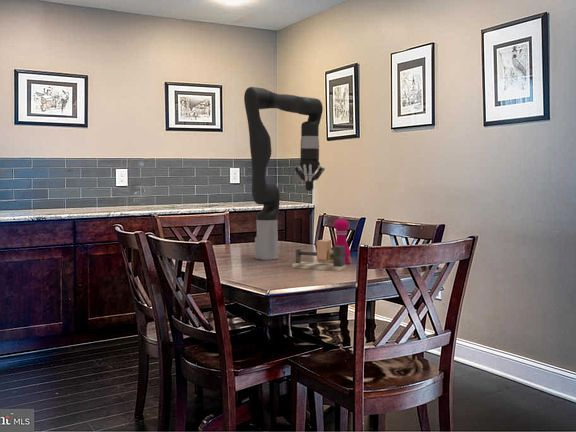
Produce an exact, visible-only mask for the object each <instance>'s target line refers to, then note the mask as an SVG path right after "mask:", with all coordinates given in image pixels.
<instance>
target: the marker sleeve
mask: <svg viewBox="0 0 576 432" xmlns="http://www.w3.org/2000/svg"><path fill="white" fill-rule="evenodd" d="M329 250H332V239H319V240H316V252H317V256H316V261H317V262H329V261H331V260H330V259H328V251H329Z"/></svg>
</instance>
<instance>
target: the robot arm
mask: <svg viewBox="0 0 576 432" xmlns="http://www.w3.org/2000/svg"><path fill="white" fill-rule="evenodd" d="M243 99H244V100H243V102H244V103H243V104H244V108H245V112H246V118H247V119H246V120H247V124H248V125H247V127H248V135H249V137H248V138H249V150H250V158H251V161H250V162H251V182H252V183H251V197H252V199H253V201H254V203H255V204H257V205H260V206H261V205H262V206H263V207H262V209H261V210H260V211H259V212H258V213H257V214H256V216H255V217H256V236H255V237H254V252H255V253H254V255H255V256H254V258H255V259H256V260H266V261H270V260H276V259H279V251H278V249H279V247H278V246H279V245H278V243H279V242H278V241H279V240H278V238H279V237H278V236H279V234H278V232H279V230H278V229H279V228H278V215H279V213H280V199H281V198H280V190H279V188H278V187H279V186H277V184H275V183H272V182H271V183H268V182H266V171H267V167H268V165H269V163H270V159H271V157H272V141H271V136H270V133H269V132H268V130H267V128H266V126H265V125H264V123H263V122H262V119H261V114H260V110H265V109H266V110H267V109H277V110H280V111H283V112H289V113H293V114H298V115H303V116H308V117H307V119H306V120H307V121H303V122H302V123H301V127H300V129H301V130H300V135H301V136H300V153H299V154H300V157H299V159H300V162H299V165H298V166H296V167H294V171H295V172H296V174H297V175H298V177H299V178H300V179H301V180H302V181H304V182H305V190H306V191H307V192H309V191H310V192H312V191H313V190H314V181H317V180H319V178H320V177H321V176H322V174H323V172H324V171H326V170H325V169H326V168H325V167H323V166H321V165H320V164H321V163H320V160H319V159H320V138H319V129H320V128H319V126H320V122H321V119H322V116H323V110H324V108H323V103H322V101H321V100H320V99H318V98H315V97H309V96H298V95H295V94H294V95H293V94H285V93H284V94H280V93H276V92H273V91H271V90H268V89H267V88H264V87H263V88H262V87H255V86H249V87H247V88H246V89H245V91H244V95H243Z"/></svg>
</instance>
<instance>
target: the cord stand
mask: <svg viewBox="0 0 576 432" xmlns="http://www.w3.org/2000/svg"><path fill="white" fill-rule="evenodd" d="M332 247H333V249H331V250H329V251H328V259H330V261H332V260H333V261H332V262H333V263H325V262H312V261H311V262H310V261H302V260H301V258H302V257H301V256H310V257H311V256H314V257H317V251H301V250H302V249H301V248H296V249H295V263H292V267H291V268H292V269H302V270H303V269H305V270H319V271H332V272H340V271H343V270H346V269H347V264H345V246H335V245H334V246H332Z"/></svg>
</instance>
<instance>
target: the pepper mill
mask: <svg viewBox="0 0 576 432" xmlns="http://www.w3.org/2000/svg"><path fill="white" fill-rule="evenodd" d="M333 228H334V230H335V231H334V233H335V234H334V235H336V241H335V244H334V246H345V265H348V264H350V258H349V257H350V255H351V250H350V247H349V245H348V243H347V234H348V228H349V221H348V220H346V219H345V218H344V215H342V214H340V215H339V216H338V219H336V220H335V221H334V224H333Z"/></svg>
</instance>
